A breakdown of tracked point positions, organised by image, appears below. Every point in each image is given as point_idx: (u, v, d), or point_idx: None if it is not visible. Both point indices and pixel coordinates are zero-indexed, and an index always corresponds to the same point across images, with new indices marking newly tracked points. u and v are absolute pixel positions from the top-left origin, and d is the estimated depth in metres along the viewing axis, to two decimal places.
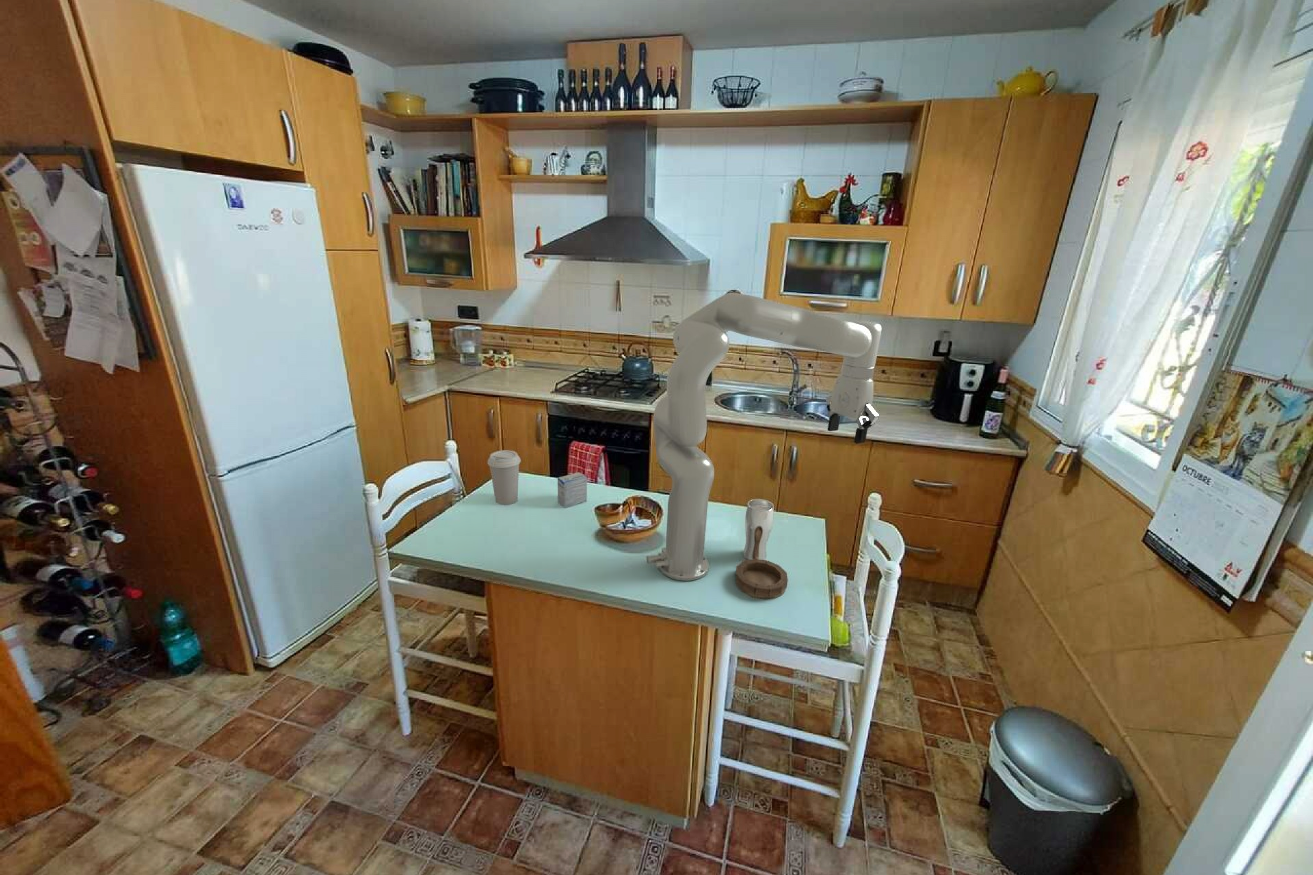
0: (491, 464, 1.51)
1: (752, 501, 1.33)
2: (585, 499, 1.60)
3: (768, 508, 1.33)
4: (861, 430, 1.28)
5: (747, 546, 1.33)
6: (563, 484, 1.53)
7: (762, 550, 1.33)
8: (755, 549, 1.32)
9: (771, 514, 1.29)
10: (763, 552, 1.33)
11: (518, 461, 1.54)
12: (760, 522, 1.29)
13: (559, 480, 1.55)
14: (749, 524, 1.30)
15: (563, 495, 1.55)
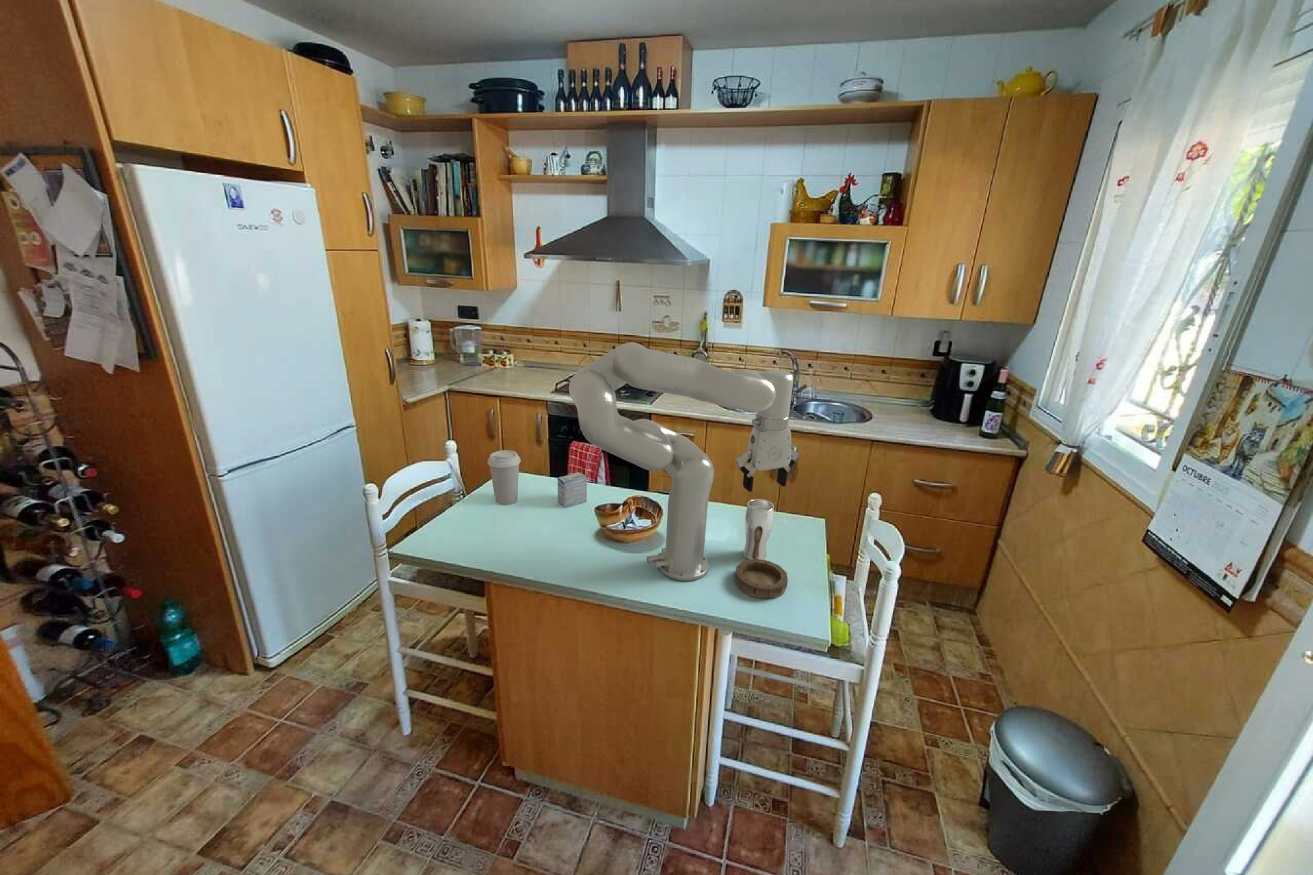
0: (491, 464, 1.51)
1: (752, 501, 1.33)
2: (585, 499, 1.60)
3: (768, 508, 1.33)
4: None
5: (747, 546, 1.33)
6: (563, 484, 1.53)
7: (762, 550, 1.33)
8: (755, 549, 1.32)
9: (771, 514, 1.29)
10: (763, 552, 1.33)
11: (518, 461, 1.54)
12: (760, 522, 1.29)
13: (559, 480, 1.55)
14: (749, 524, 1.30)
15: (563, 495, 1.55)
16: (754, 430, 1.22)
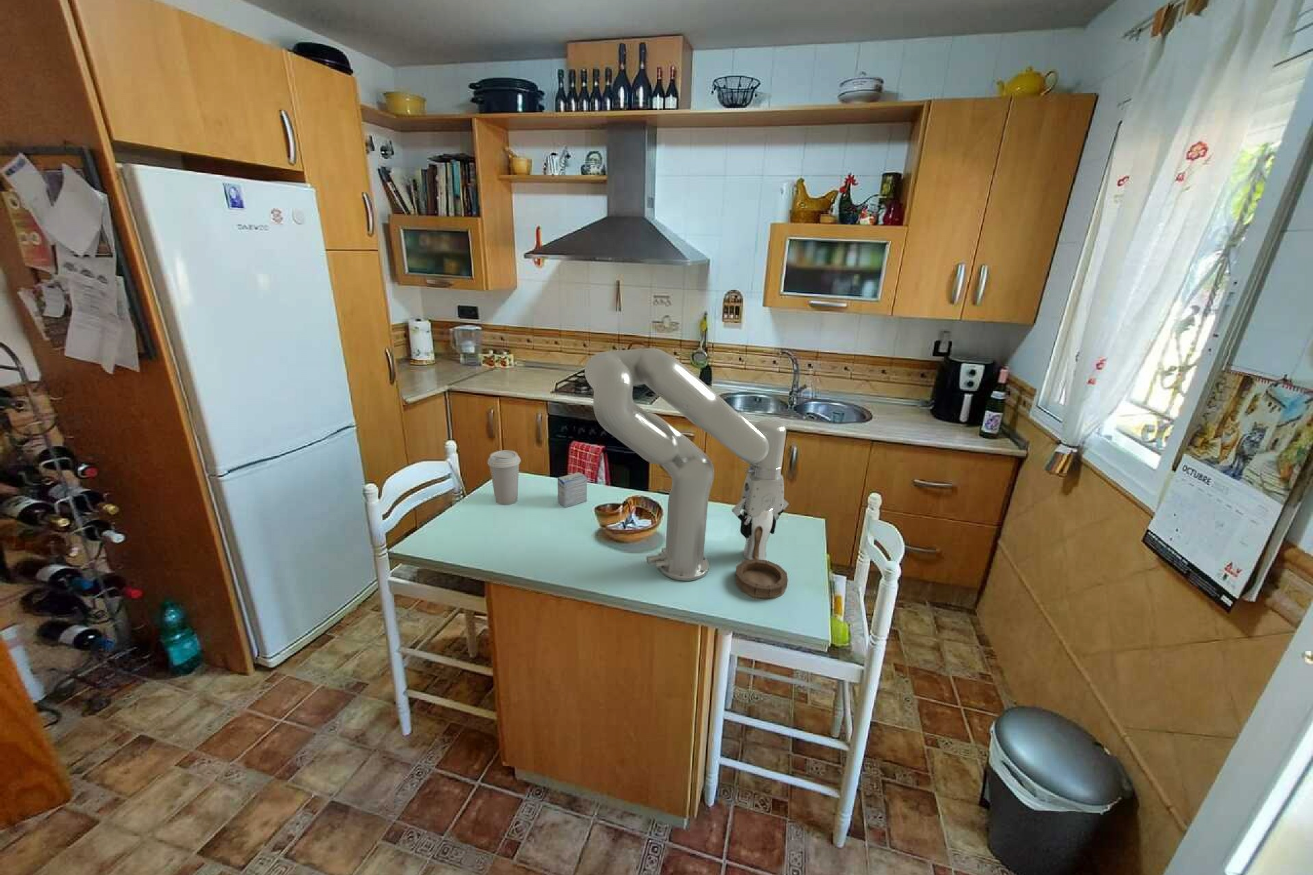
0: (491, 464, 1.51)
1: None
2: (585, 499, 1.60)
3: None
4: None
5: (747, 546, 1.33)
6: (563, 484, 1.53)
7: (762, 550, 1.33)
8: (755, 549, 1.32)
9: (771, 514, 1.29)
10: (763, 552, 1.33)
11: (518, 461, 1.54)
12: (760, 522, 1.29)
13: (559, 480, 1.55)
14: None
15: (563, 495, 1.55)
16: (748, 478, 1.27)
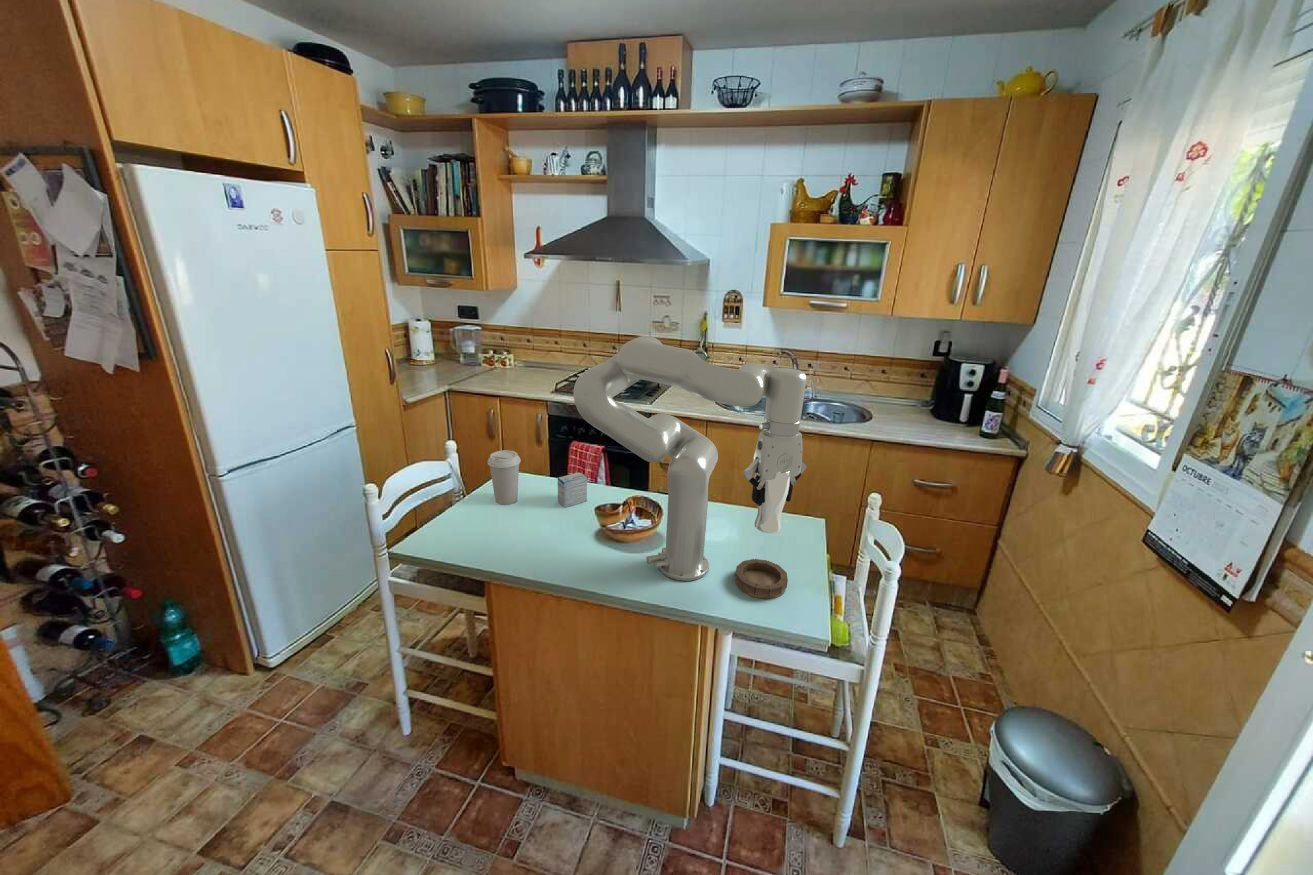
0: (491, 464, 1.51)
1: None
2: (585, 499, 1.60)
3: None
4: None
5: (759, 515, 1.17)
6: (563, 484, 1.53)
7: (777, 520, 1.16)
8: (769, 518, 1.16)
9: (788, 477, 1.12)
10: (778, 522, 1.16)
11: (518, 461, 1.54)
12: (776, 487, 1.12)
13: (559, 480, 1.55)
14: None
15: (563, 495, 1.55)
16: (762, 435, 1.10)
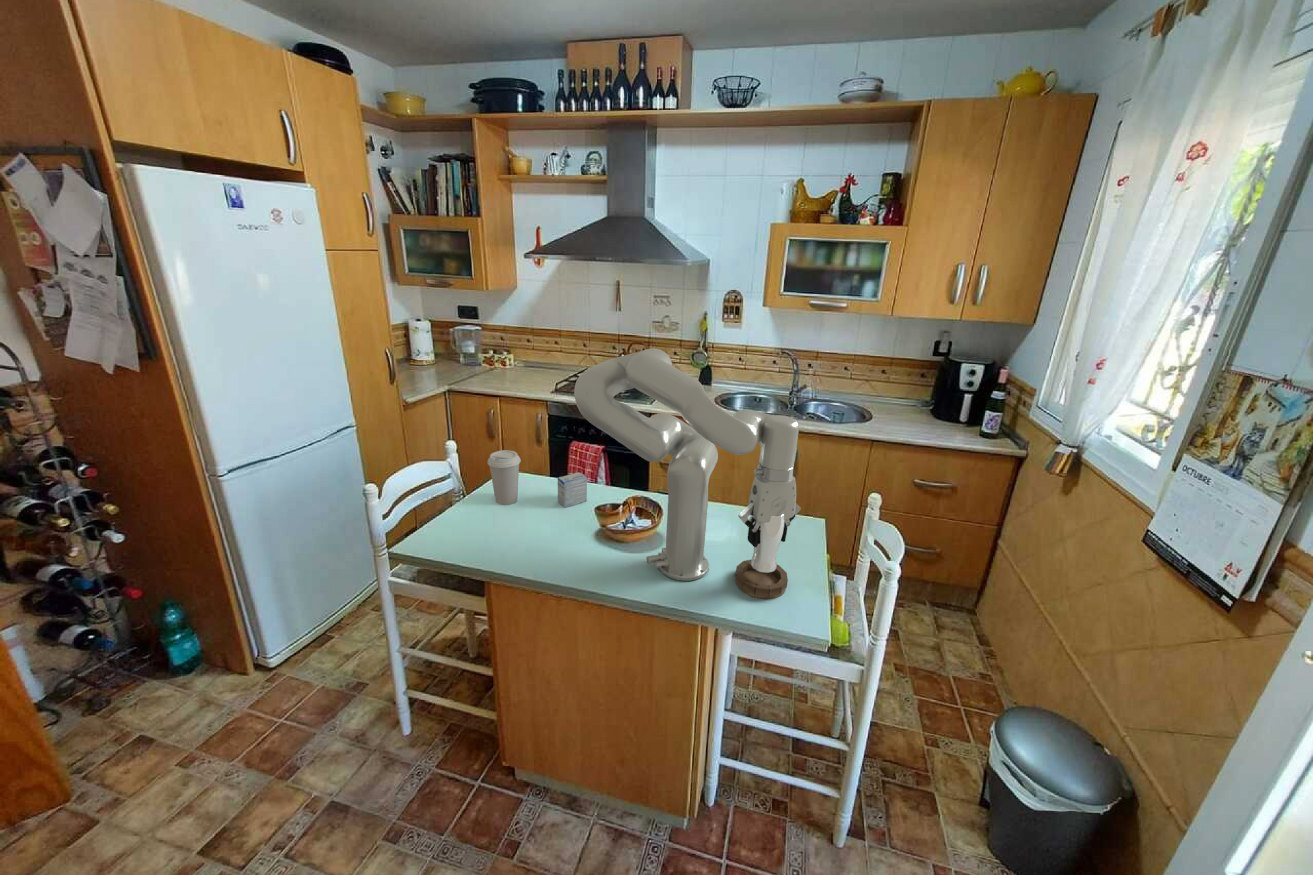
0: (491, 464, 1.51)
1: None
2: (585, 499, 1.60)
3: None
4: (786, 526, 1.20)
5: (755, 555, 1.20)
6: (563, 484, 1.53)
7: (772, 560, 1.19)
8: (764, 559, 1.19)
9: (782, 520, 1.16)
10: (773, 562, 1.20)
11: (518, 461, 1.54)
12: (770, 529, 1.16)
13: (559, 480, 1.55)
14: (758, 531, 1.17)
15: (563, 495, 1.55)
16: (756, 480, 1.14)
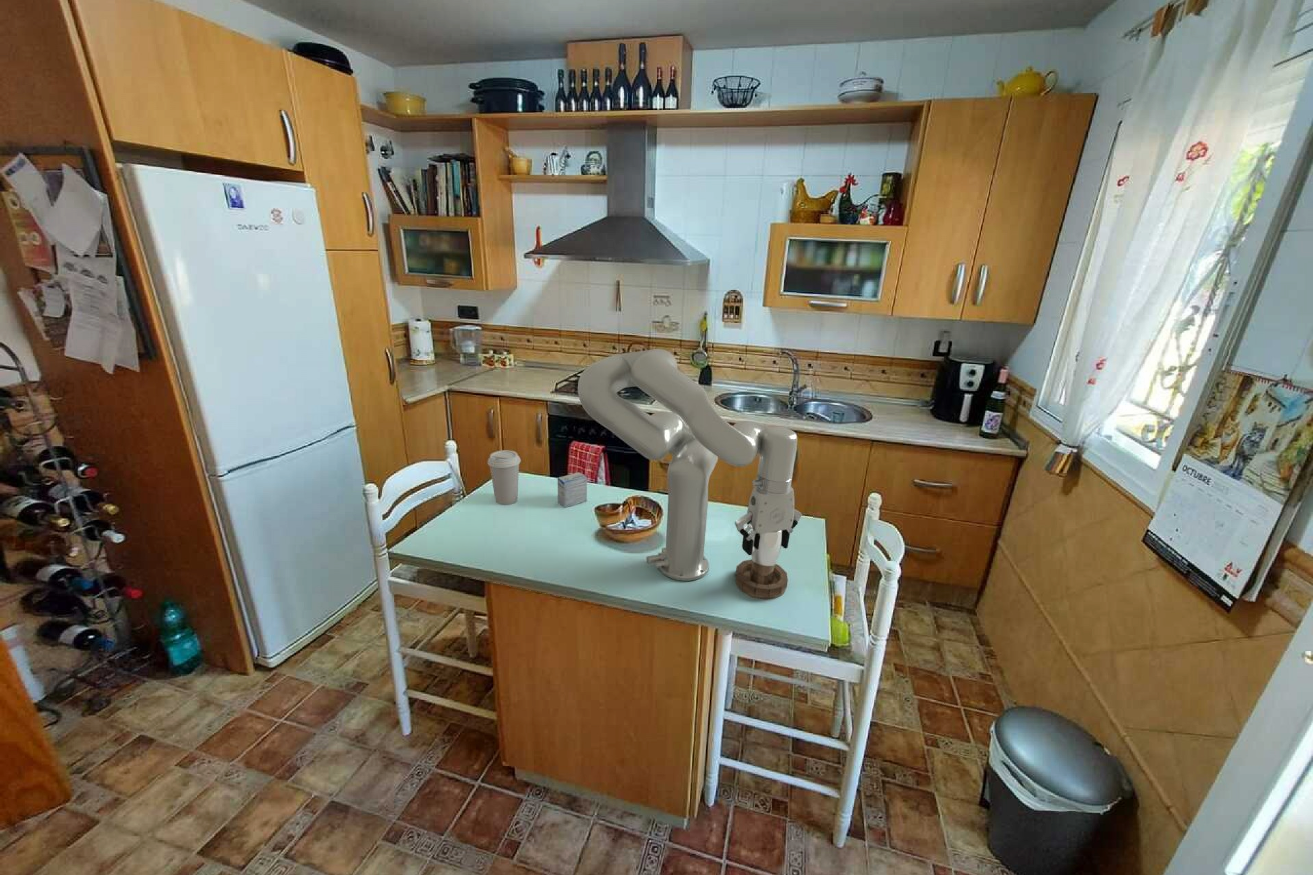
0: (491, 464, 1.51)
1: None
2: (585, 499, 1.60)
3: None
4: (788, 533, 1.21)
5: (753, 570, 1.22)
6: (563, 484, 1.53)
7: (770, 575, 1.21)
8: (762, 574, 1.21)
9: (780, 536, 1.17)
10: (771, 577, 1.21)
11: (518, 461, 1.54)
12: (768, 545, 1.17)
13: (559, 480, 1.55)
14: (755, 547, 1.19)
15: (563, 495, 1.55)
16: (755, 491, 1.15)
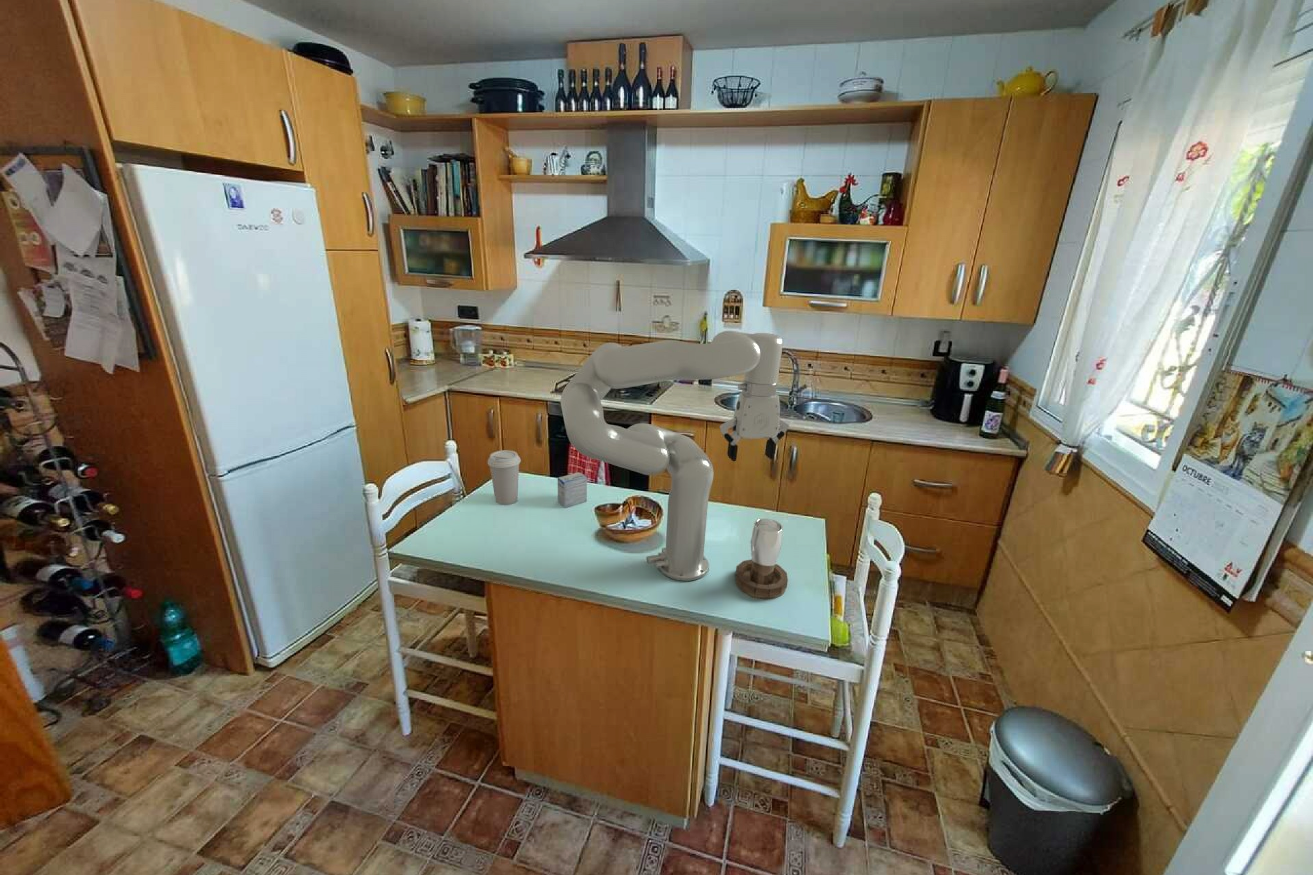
0: (491, 464, 1.51)
1: (759, 521, 1.22)
2: (585, 499, 1.60)
3: (776, 529, 1.22)
4: (774, 444, 1.23)
5: (753, 570, 1.22)
6: (563, 484, 1.53)
7: (770, 575, 1.21)
8: (762, 574, 1.21)
9: (780, 536, 1.17)
10: (771, 577, 1.21)
11: (518, 461, 1.54)
12: (768, 545, 1.17)
13: (559, 480, 1.55)
14: (755, 547, 1.19)
15: (563, 495, 1.55)
16: (740, 396, 1.17)
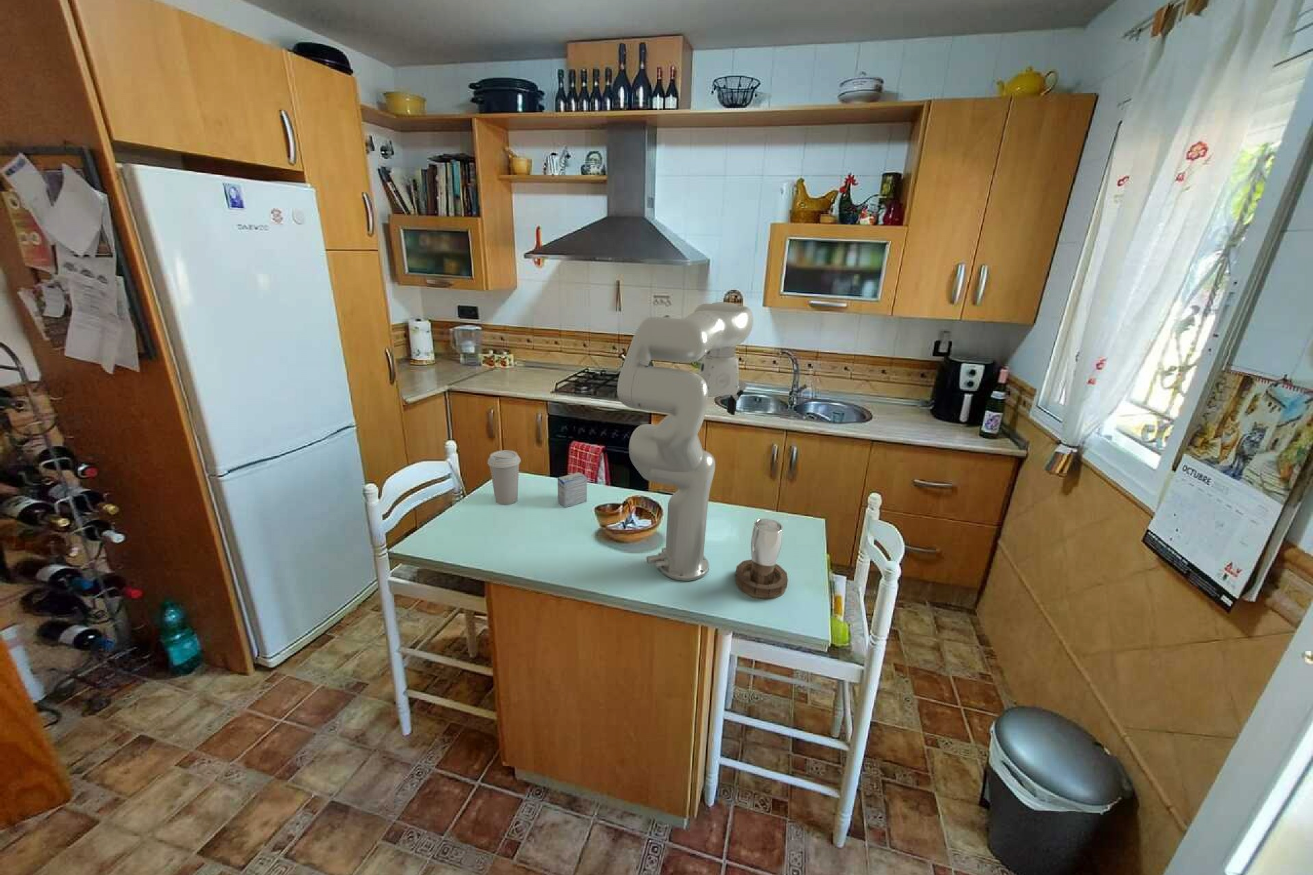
0: (491, 464, 1.51)
1: (759, 521, 1.22)
2: (585, 499, 1.60)
3: (776, 529, 1.22)
4: None
5: (753, 570, 1.22)
6: (563, 484, 1.53)
7: (770, 575, 1.21)
8: (762, 574, 1.21)
9: (780, 536, 1.17)
10: (771, 577, 1.21)
11: (518, 461, 1.54)
12: (768, 545, 1.17)
13: (559, 480, 1.55)
14: (755, 547, 1.19)
15: (563, 495, 1.55)
16: (704, 358, 1.33)
